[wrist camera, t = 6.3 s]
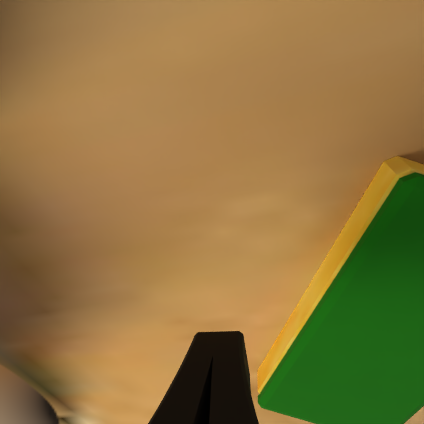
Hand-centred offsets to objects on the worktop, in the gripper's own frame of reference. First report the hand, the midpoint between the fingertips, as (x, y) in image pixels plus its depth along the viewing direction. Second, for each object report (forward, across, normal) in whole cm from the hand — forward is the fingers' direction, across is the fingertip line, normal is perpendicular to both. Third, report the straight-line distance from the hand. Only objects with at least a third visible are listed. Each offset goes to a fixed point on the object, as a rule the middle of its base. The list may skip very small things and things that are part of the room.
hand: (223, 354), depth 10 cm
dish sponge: (+6, -6, +4) cm, 10 cm away
